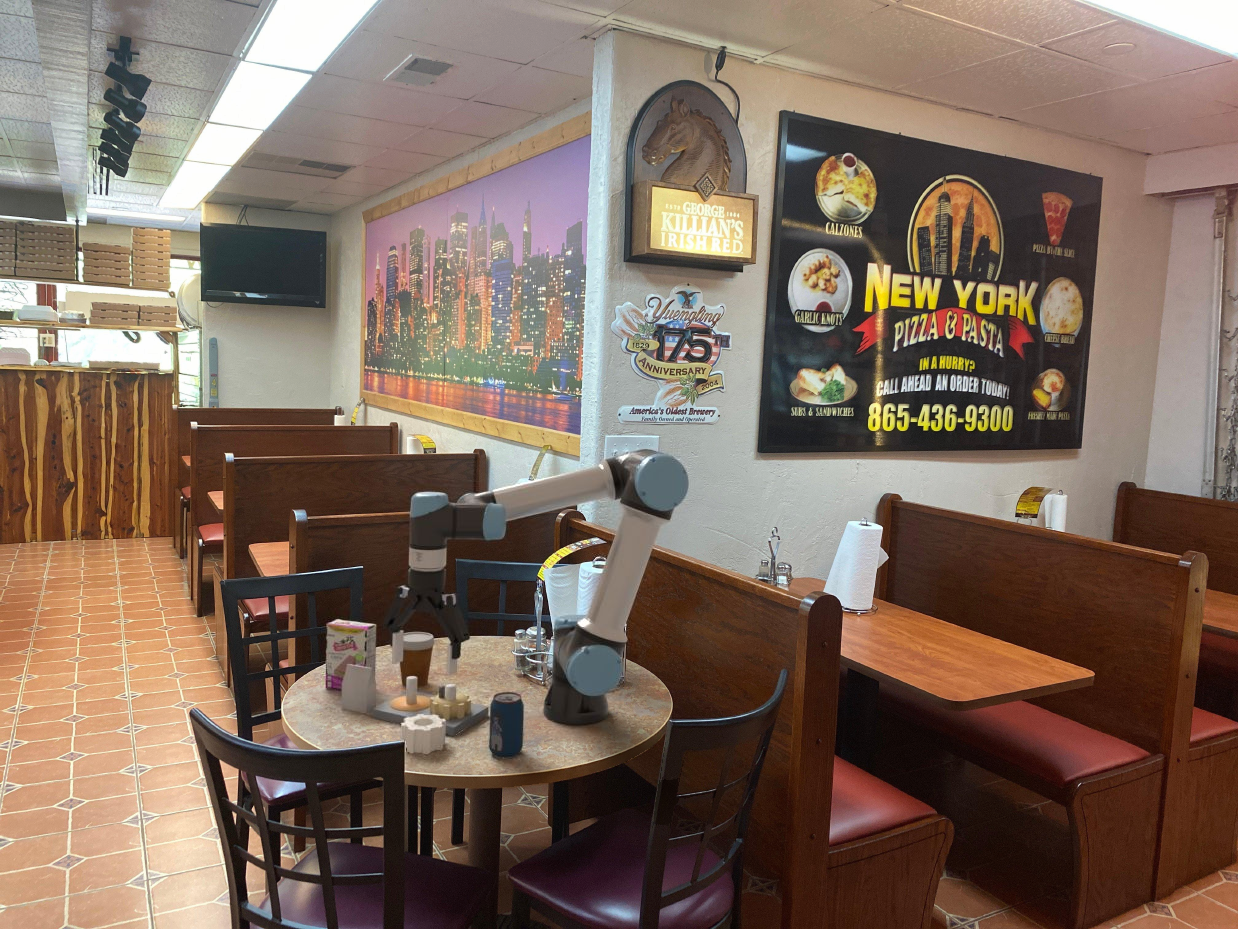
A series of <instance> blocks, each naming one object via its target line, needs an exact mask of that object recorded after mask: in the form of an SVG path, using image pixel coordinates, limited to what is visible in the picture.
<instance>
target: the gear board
mask: <svg viewBox="0 0 1238 929" xmlns="http://www.w3.org/2000/svg"><path fill="white" fill-rule="evenodd" d="M405 687H406V688H405V691H404V692H403V693H400V694H399V695H396V696H394V697H392V698H390V699H388V700H387V701H384V702H382V703H380V704H378V705H376V707H374V708H372V711H370V712H371V713H370V714H371V718H374V719H377V720H382V721H386V722H390V723H395V724H399V725H401V723H404V719H405V718H407V717H410V718H411V717H415V716H417V715H418V714H424V715H431V716H432V715H433V714H434V715H438V716H439V718H440V719H445V721H446V732H445V735H446V734H448V735H447V736H451V735H452V737H455V736H457V735H458V734H460V733H462V732H463V731H465V730H466V728H467V729H468V728H470V727H471V726H473V725H475V724H476V723H478V722H479V721H481V720H483V719H484V718H486V717H488V716H489V709H490V705H489V706H488V705H483V704H478V703H473V702H472V698H470V695H469V694H467V693H459V692H458V691H457V684H453V683H449V684H446V685H439V686H438V693H436V694H431V693H426V692H421V691H418V687H417V677H415V676H410V677H407V683H406V686H405ZM469 726H470V727H469ZM464 729H465V730H464ZM462 730H463V731H462ZM461 731H462V732H461ZM459 732H460V733H459ZM456 734H457V735H456Z"/></svg>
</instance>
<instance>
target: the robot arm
mask: <svg viewBox="0 0 1238 929" xmlns="http://www.w3.org/2000/svg"><path fill="white" fill-rule="evenodd" d="M689 481H690V480H689V475H688V473H687V470H686V468H685V467H684V465H683V464H682V463H681V461H680V460H678V459H676V458H675V457H674V456H673V455H670V454H668V453H664V452H660V451H657V450H654V449H648V448H642V449H635V450H633V451H630V452H627V453H624V454H620V455H617V456H613V457H611V458H606V459H602V460H601V462H600V464H598V465H595V466H591V467H587V468H583V469H578V470H573V471H569V472H565V473H560V474H557V475H553V476H549V477H544V478H543V477H542V478H540V479H535V480H531V481H526V482H521V483H517V484H514V485H509V486H505V487H501V488H497V489H492V490H490V491H488V490H487V491H484V492H479V493H477V492H469V493H466V494H463V495H462V496H460V498H459V499H458V500H457V502H450V501H449V497H448V494H447V493H444V492H438V491H423V492H422V491H420V492H416V493H414V494H413V495H412V496H411V499H410V511H409V541H408V542H409V546H408V566H409V567H410V568H409V569H408V572H407V573H408V574H407V575H408V577H407V584H408V585H406V584H404V585H401V586H397V587H396V588H395V592H394V598H393V601H392V602H391V604H390V607H389V609H388V611H387V613H386V615H385V617H384V619H383V622H382V623H381V627H382V628H383V629H387V630H388V631H389V646H390V647H391V648H392V649H391V650H392V651H391V652H392V653H391V664H392V665H397V664H400V662H401V661H403V639H404V633H405V631H404V630H402V629H403V626H404V625H405V624H406V623H407V622H408V620H409V619H410V618H411V617H412V616H413V615H414V614H415V612H417V613H422V612H423V613H425V614H429V615H430V614H431V615H432V616H433V617H434V618H435V619H436V620H437V622H438V623H439V624H438V625H440V627H441V629H442V630H443V632H444V633H445V635H446V636H447V639H449V643H447V645H446V672H445V673H446V674H445V675H446V676H451V675H453V674H456V673H457V672H458V659H460V658H461V656H462V654H461V652H462V643H464V642H466V641H469V640H470V639H471V635H470V633H469V630H468V628H467V624H466V622H465V619H464V617H463V614H462V611H461V609H460V606H459V597H458V596H459V595H458V594H457V593H454V592H453V593H451V594H446V593H445V590H444V589H445V587H446V586H445V585H446V577H447V576H446V574H447V572H446V571H447V570H446V569H445V567H446V566H447V545H448V544H447V541H448V540H477V541H478V540H482V541H483V540H485V541H492V540H501V539H503V538H504V537H505V535H506V530H507V522H509V521H513V520H517V519H521V518H525V517H530V516H534V515H539V514H543V513H547V512H550V511H551V512H552V511H556V510H559V509H565V508H567V507H572V506H576V505H580V504H585V503H590V502H593V501H598V500H601V499H605V498H607V499H608V500H610V501H616V500H619V504H618V505H619V506H620V509H621V510H622V516H621V518H620V521H619V523H618V527H617V529H616V532H615V535H614V538H613V541H612V544H611V547H610V549H609V552H608V555H607V558H606V561H605V563H604V565H603V569H602V572H601V575H600V578H599V580H598V583H597V586H596V589H595V591H594V593H593V594H594V595H593V597H592V599H591V603H590V605H589V609H588V611H587V614H568V615H562V616H558V617H556V618H555V619H554V624H553V629H552V632H553V639H552V640H553V641H552V668H551V669H552V671H551V673H552V676H551V682H550V685H549V688H548V690H547V693H546V696H545V697H544V702H543V708H542V709H543V710H542V712H543V715H544V716H545V717H546V718H547V719H549V720H551V721H554V722H556V723H559V724H565V725H578V726H579V725H590V724H596V723H598V722H601V721H603V720H605V719H606V718H607V716H608V715H609V703H608V700H607V695H606V694H607V693H609V692H610V691H612V690H613V689H615V688H616V686H617V685H619V682H620V680H621V678H622V676H623V672H624V666H623V665H624V664H623V660H622V657H623V653H624V651H625V648H626V644H627V642H628V637H627V635H626V633H625V630H624V629H625V626H626V623H627V621H628V618H629V615H630V613H631V610H632V608H633V604H634V602H635V599H636V596H637V593H638V590H639V587H640V585H641V582H642V579H643V576H644V573H645V571H646V568H647V564H648V562H649V560H650V557H651V554H652V551H653V549H654V545H655V543H656V540H657V536H658V534H659V531H660V529H661V527H662V526H663V525H666V524H668V523H669V522H671V519H672V516H673V512H674V511H675V508H677V507H678V506H679V505H680V504H681V503H683V501H684V500H685V499H686V497H687V494H688V492H689V485H690V484H689V483H690V482H689ZM408 586H409V587H408ZM407 597H408V599H409V602H408V604H407V605H406V606H405V607H404V610H403V611H402V612H401V610H402V607H403V605H404V603H405V602H406V599H407ZM400 612H401V613H400ZM399 614H400V615H399Z"/></svg>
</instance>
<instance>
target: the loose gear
mask: <svg viewBox="0 0 1238 929" xmlns="http://www.w3.org/2000/svg"><path fill="white" fill-rule="evenodd" d="M445 732H446V721H445V719H440V718H439V716H438V715H434V714H433V715H432V716H431V715H424V714H418V715H417V716H415V717H411V718H410V717H407V718H405V719H404V723H401V724H400V741H401V740H405V741H406V745H407V750H406V753H408V752H409V753H408V754H411V755H414V754H423V755H429V753H430V754H431V752H434V751H435V750H436V751H438V750H440V751H441V750H443V749H442V748H444V745H446V734H445ZM436 751H435V752H436Z"/></svg>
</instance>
